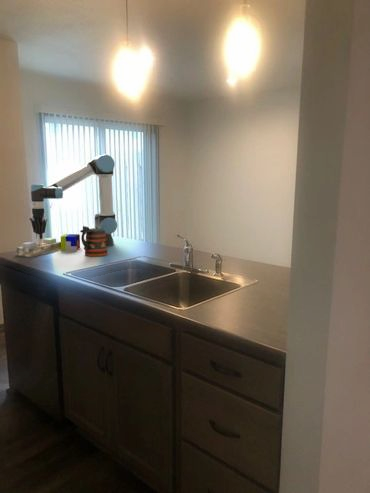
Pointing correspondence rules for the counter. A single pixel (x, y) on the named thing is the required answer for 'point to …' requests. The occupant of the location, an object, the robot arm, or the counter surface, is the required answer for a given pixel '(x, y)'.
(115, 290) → the counter surface
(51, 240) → the key sage
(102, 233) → the beer stein
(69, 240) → the puzzle toy
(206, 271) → the counter surface
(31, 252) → the key console
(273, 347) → the counter surface
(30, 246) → the key slate
